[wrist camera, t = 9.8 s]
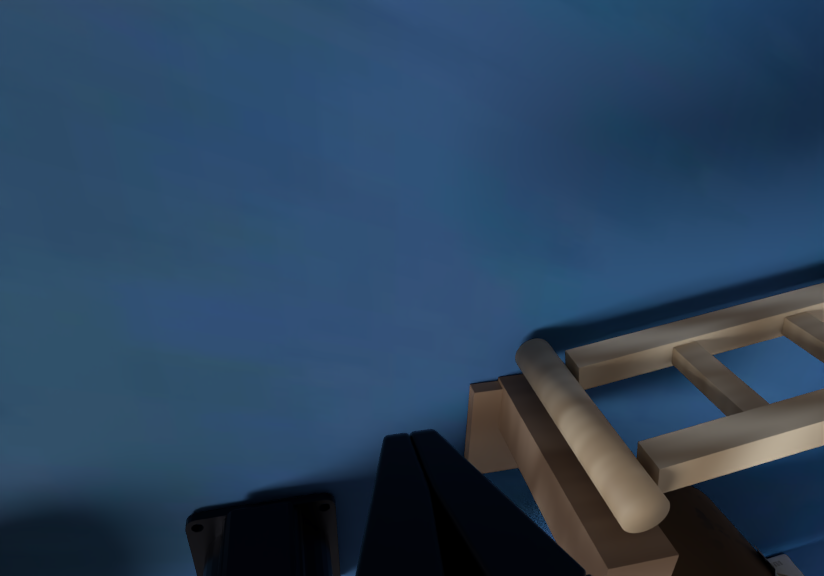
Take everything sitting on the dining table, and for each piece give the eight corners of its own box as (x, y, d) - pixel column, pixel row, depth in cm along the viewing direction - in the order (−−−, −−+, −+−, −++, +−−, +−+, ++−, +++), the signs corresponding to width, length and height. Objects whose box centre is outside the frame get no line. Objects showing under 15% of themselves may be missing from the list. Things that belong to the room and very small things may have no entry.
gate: (516, 373, 24) (619, 539, 17) (514, 343, 23) (622, 504, 16) (854, 283, 26) (1076, 399, 19) (863, 253, 25) (1098, 361, 18)
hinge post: (558, 451, 28) (675, 643, 20) (463, 466, 27) (545, 674, 19) (574, 367, 26) (715, 547, 18) (470, 380, 25) (568, 577, 17)
